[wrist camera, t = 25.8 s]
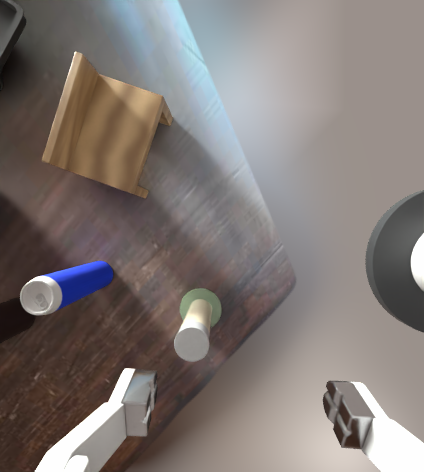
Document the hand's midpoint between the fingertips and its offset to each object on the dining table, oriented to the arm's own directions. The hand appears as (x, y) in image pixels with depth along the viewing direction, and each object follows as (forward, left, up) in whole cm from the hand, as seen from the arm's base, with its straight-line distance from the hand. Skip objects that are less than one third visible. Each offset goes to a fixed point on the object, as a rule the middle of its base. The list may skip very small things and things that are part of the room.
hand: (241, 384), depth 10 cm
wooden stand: (+10, -28, -31) cm, 43 cm away
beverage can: (+24, -7, -31) cm, 40 cm away
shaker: (+8, +6, -31) cm, 32 cm away
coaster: (+8, +6, -31) cm, 33 cm away
